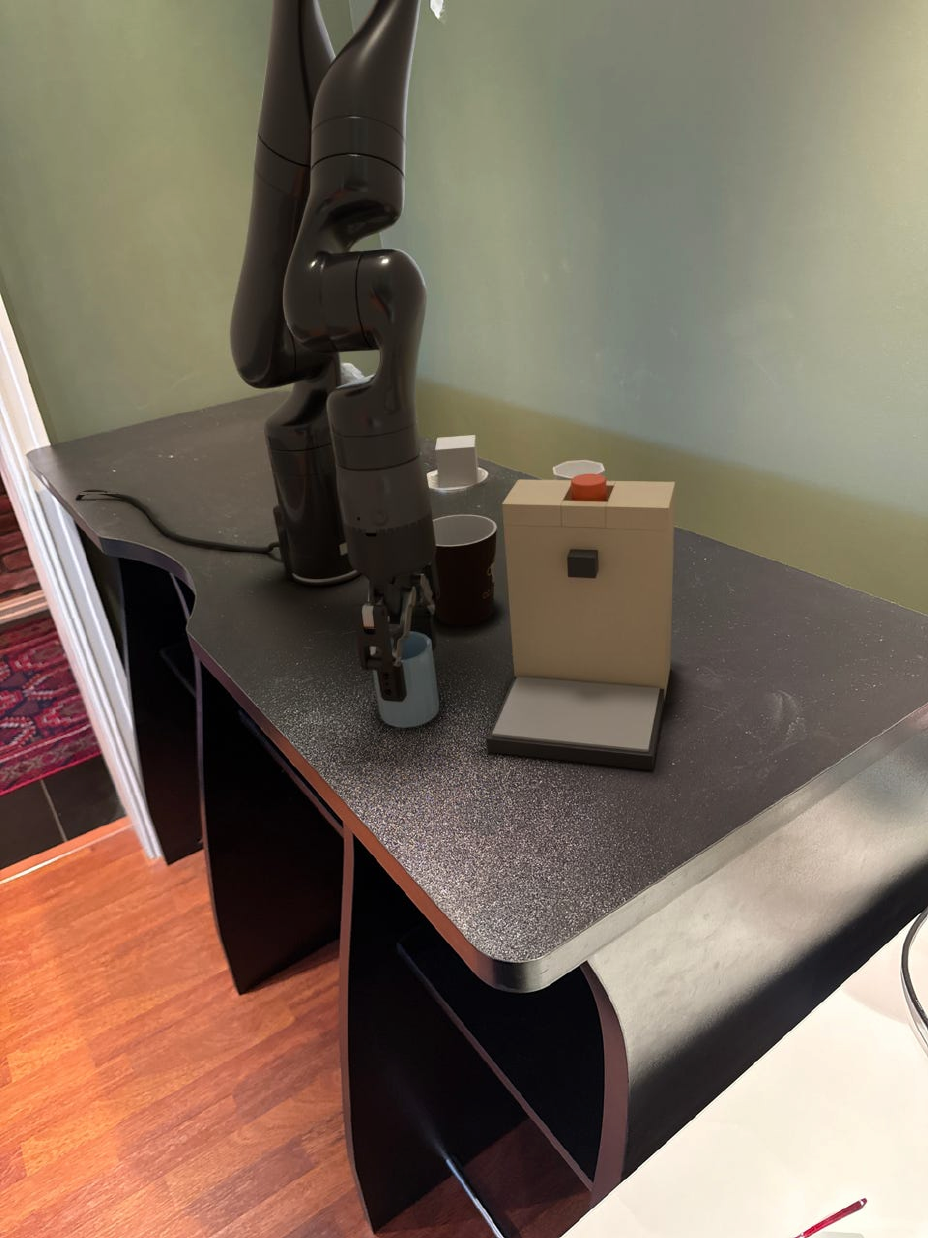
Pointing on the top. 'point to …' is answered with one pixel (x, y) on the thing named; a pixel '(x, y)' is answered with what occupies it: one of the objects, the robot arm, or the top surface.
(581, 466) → the cup
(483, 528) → the coffee mug
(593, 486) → the brew button
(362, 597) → the top surface
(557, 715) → the coffee maker
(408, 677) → the creamer cup
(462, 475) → the white cube
